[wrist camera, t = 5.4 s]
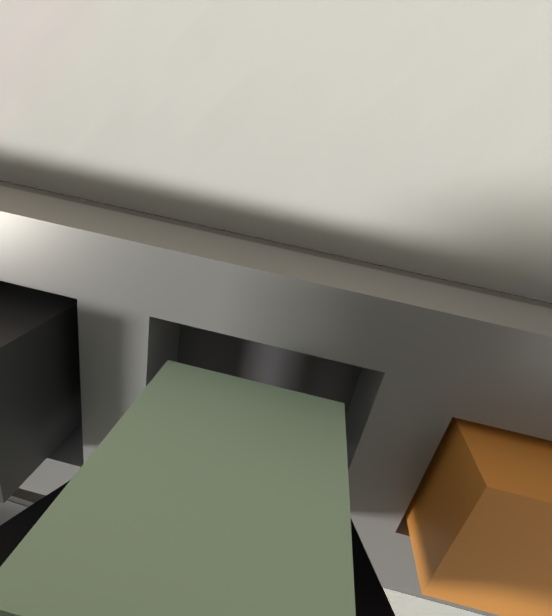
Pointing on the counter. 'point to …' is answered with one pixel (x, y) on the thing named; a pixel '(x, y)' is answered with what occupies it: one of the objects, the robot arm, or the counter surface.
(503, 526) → the power button
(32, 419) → the power strip
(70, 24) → the counter surface
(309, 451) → the cube
